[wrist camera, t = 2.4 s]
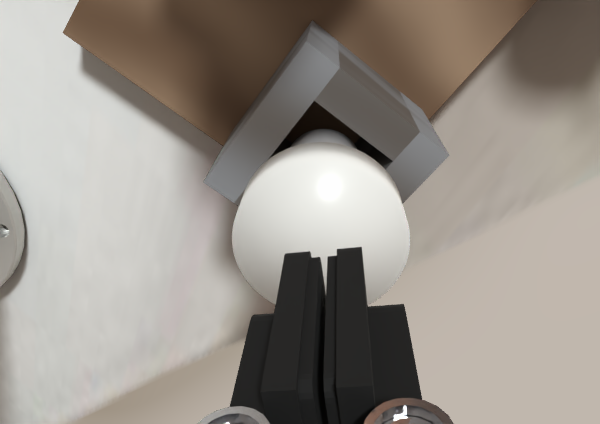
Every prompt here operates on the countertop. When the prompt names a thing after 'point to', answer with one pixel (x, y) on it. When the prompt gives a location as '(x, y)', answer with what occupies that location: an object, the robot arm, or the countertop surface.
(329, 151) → the white round part
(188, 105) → the board
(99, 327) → the countertop surface
